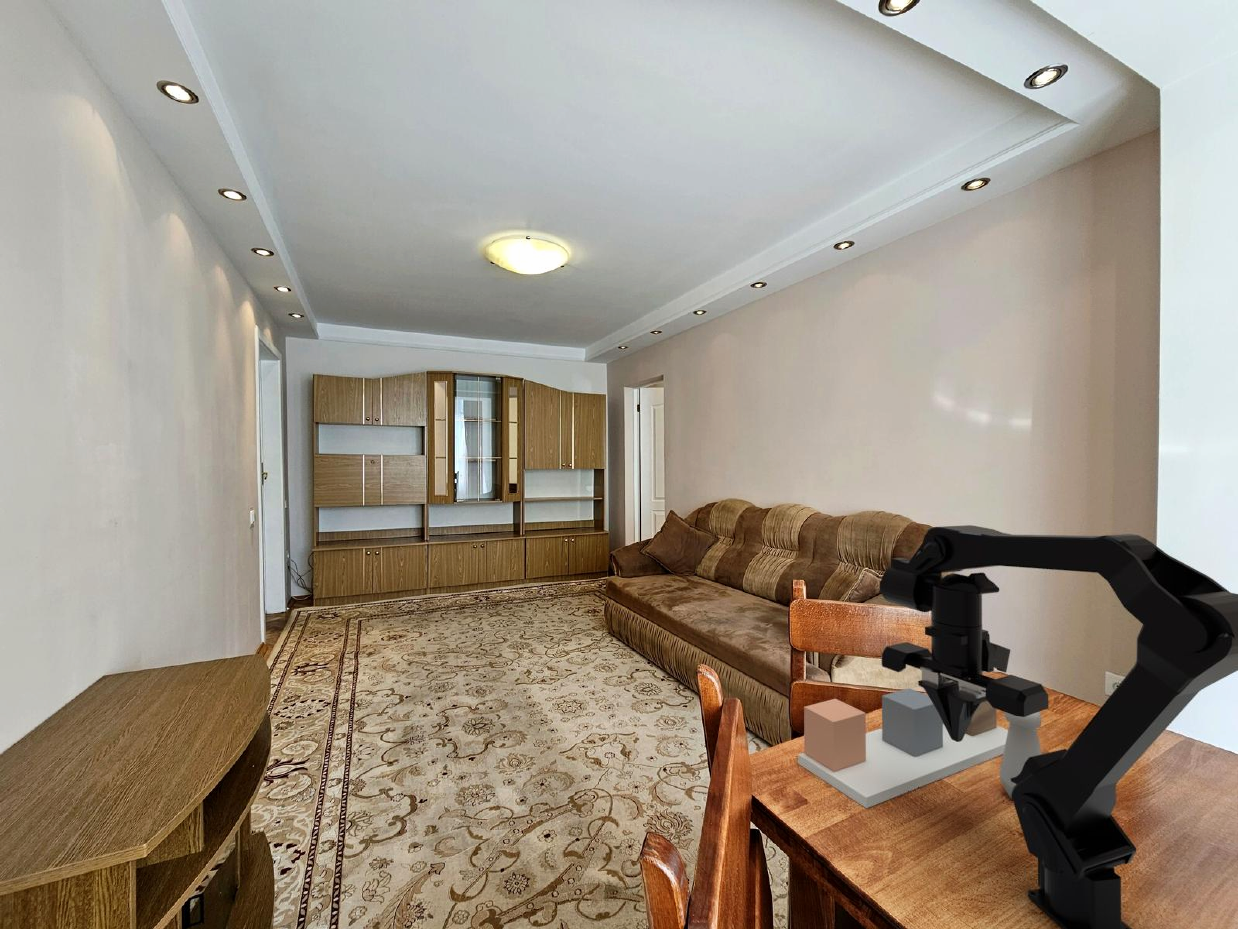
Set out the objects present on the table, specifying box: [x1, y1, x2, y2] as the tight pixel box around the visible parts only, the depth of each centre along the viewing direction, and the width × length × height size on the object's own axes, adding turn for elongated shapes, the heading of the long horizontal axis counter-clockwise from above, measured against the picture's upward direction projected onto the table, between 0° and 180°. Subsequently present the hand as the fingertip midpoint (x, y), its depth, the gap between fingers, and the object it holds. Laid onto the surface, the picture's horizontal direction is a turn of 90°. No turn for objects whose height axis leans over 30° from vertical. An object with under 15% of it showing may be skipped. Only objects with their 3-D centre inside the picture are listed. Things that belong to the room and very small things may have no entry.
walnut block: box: [943, 678, 998, 736], centre depth 98 cm, size 6×7×8 cm
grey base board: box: [797, 724, 1008, 809], centre depth 91 cm, size 39×13×2 cm, turn 116°
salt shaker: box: [998, 712, 1043, 799], centre depth 80 cm, size 6×6×13 cm
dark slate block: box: [881, 687, 943, 756], centre depth 92 cm, size 6×7×8 cm
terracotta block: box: [803, 698, 867, 771], centre depth 88 cm, size 6×7×8 cm
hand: (956, 740), depth 72 cm, fingers closed
